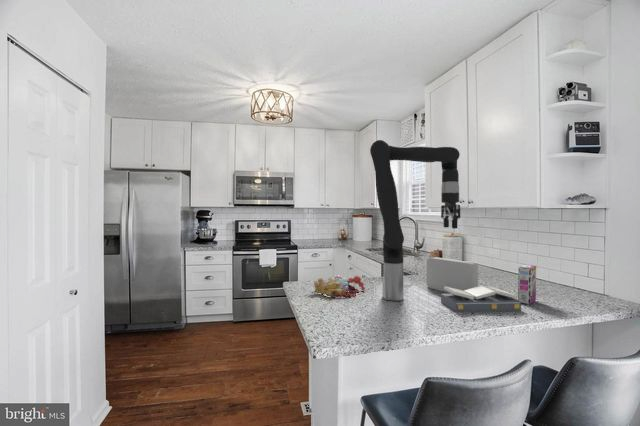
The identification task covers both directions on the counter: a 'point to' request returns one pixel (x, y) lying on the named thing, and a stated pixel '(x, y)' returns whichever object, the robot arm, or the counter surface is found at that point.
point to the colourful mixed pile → (339, 286)
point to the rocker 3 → (502, 292)
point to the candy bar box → (527, 284)
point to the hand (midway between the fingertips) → (450, 227)
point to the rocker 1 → (458, 292)
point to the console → (481, 303)
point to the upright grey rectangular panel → (451, 274)
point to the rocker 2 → (480, 292)
